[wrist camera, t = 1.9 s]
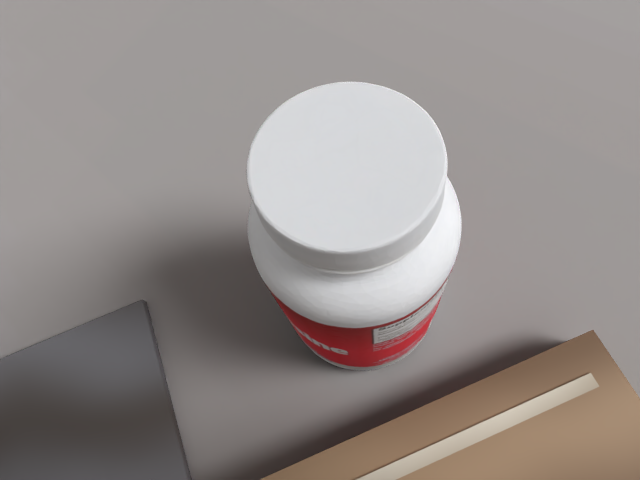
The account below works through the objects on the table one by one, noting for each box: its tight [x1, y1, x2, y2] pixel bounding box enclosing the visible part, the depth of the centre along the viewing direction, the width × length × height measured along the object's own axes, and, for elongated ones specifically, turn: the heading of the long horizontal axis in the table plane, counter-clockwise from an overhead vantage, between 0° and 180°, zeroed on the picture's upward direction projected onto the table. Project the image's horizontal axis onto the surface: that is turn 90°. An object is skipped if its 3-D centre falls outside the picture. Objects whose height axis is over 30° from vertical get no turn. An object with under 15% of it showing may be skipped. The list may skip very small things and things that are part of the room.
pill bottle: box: [246, 82, 462, 371], centre depth 16 cm, size 6×6×11 cm
